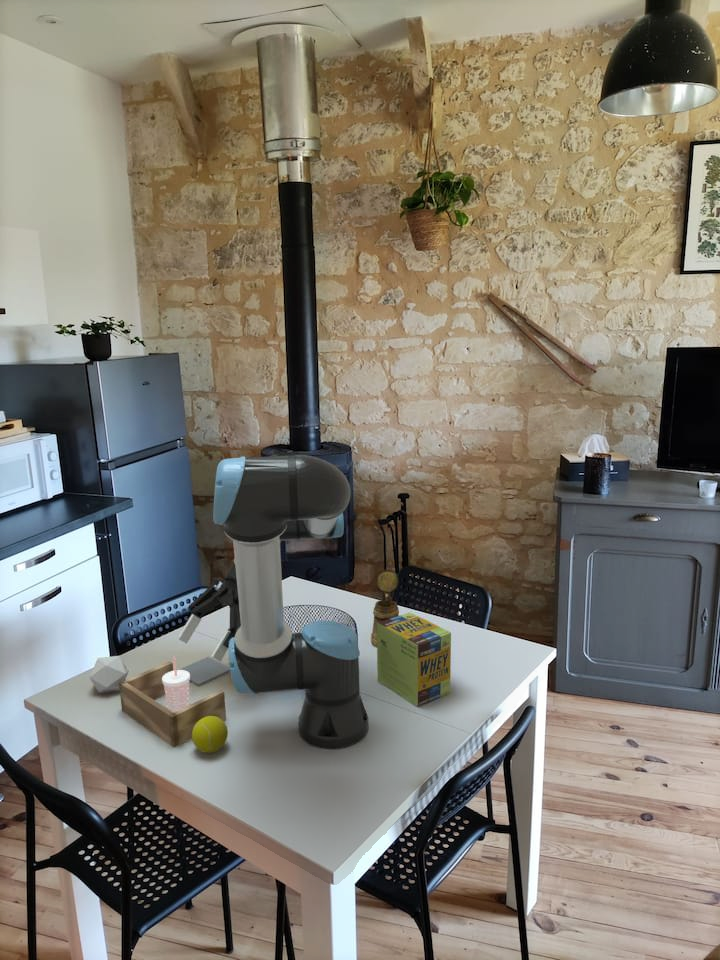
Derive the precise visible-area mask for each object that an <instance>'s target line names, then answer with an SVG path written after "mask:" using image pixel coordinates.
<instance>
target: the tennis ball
mask: <svg viewBox="0 0 720 960" xmlns="http://www.w3.org/2000/svg"><path fill="white" fill-rule="evenodd" d="M228 734H229V733H228V726H227V725H226V723H225V721H224V722H223V720H221V719H220V718H218V717H216V716H207V717H204V718H202V719H200V720H199V721H198V722H197V723H196V724H195V726H194V728H193V731H192V742H193V745H194V747H195V748H197V750H198V751H200V752H202V753H206V754H207V753H208V754H212V753H216V752H217V751H219V750H220V749H221V748H222V747H223V746H224V745H225V743H226V741H227V739H228Z"/></svg>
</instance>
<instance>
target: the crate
mask: <svg viewBox="0 0 720 960" xmlns="http://www.w3.org/2000/svg"><path fill="white" fill-rule="evenodd" d="M170 671H174V662H172V661H168V662H165V663H163V664H161V665H158V666H156V667H153V668H151V669H149V670H146V671H144V672H141V673H139V674H137V675H135V676H132V677H130V678H128V679H127V678H126V679H125V681H122V682H120V683H119V688H120V691H119V695H120V705H121V711H122V712H123V713H124V714H126V715H128V717H130V718H132V719H133V720H135V722H137V723H139V724H140V725H142V726H143V727H144V728H146V729H147V730H149V731H150V732H152V733H154V734H155V735H156V736H157V737H159V738H161V739H162V740H164V741H165V742H166V743H168V744H169V745H170V746H172V747H174V748H176V747H178V746H180V745H182V744H184V743H186V742H188V741H189V740H191V739H192V731H193V728H194V726H195V724H196V723H197V722H198V721H199V720H200V719H202V718H204V717H207V716H216V717H218V718H220V719H221V720H223V722H224V723H225V722H226V721H227V714H226V713H227V711H226V698H225V691H223V690H222V689H220V690H218V691H216V692H213V693H212V694H209V695H207V696H205V697H203V698H202V699H199V700H197V701H195V702H193V703H191V704H189V706H187V707H185V708H182V709H180V710H178V711H176V712H174V713H173V712H172V711H170V710H169V709H168V708H167V706H164V705H162V704H161V703H160V702H158V701H156V700H155V699H157V698H160V697H162V696H164V695H165V689H164V684H163V683H162V677H163V676H164V675H165V674H166V673H168V672H170Z"/></svg>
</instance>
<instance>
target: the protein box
mask: <svg viewBox="0 0 720 960" xmlns="http://www.w3.org/2000/svg"><path fill="white" fill-rule="evenodd" d="M451 647H452V632H451V631H449V630H447V629H445V628H443V627H441V626H439V625H436V624H435V623H433V622H431V621H429V620H426V619H424V618H422V617H421V616H418V615H416V614H414V613H412V612H407V613H404V614H401V615H399V616H397V617H394V618H391V619H387V620H384V621H381V622H378V623H377V647H376V650H377V651H376V654H377V655H376V656H377V660H376V663H377V665H376V666H377V667H376V668H377V673H376V674H377V675H376V676H377V679H376V680H377V682H379V683H380V684H382V685H384V686H385V687H387V688H388V689H390V690H392V692H394V693H396V694H397V695H398V696H400V697H402V698H403V699H405V700H406V701H408V702H410V703H411V704H412V705H414V706H416V707H417V708H418V707H420V706H422V705H423V706H424V704H427V703H430V702H432V701H434V700H436V699H439V698H441V697H444V696H446V695H448V694H451V670H452V669H451V668H452V667H451V664H452V661H451V659H452V657H451V656H452V655H451V654H452V652H451V649H452V648H451Z"/></svg>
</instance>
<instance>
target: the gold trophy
mask: <svg viewBox="0 0 720 960" xmlns="http://www.w3.org/2000/svg"><path fill="white" fill-rule="evenodd" d="M376 581H377V583H376V586H377V589H378V590H379V591H380V592H381V594H382V596H381V600H377V601H376V602H375V605H374V607H373V612H372V613H373V625H372V632H371V636H370V642H371V644H372V646H374V647H375V648H377V623H378V622H381V621H384V620H387V619H391V618H394V617H397V616H400V615H399V614H400V612H399V610H400V609H399V606H398V603H397V602H396V601H394V600H392V593H393V592H395V591H396V590H397V589H398V587H399V583H400V579H399V576H398V574H397V573H396V572H395V571H393V570H392V569H391V568H387V569H384V570H383V571H381V572H380V574H379V575H377V579H376Z"/></svg>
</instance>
